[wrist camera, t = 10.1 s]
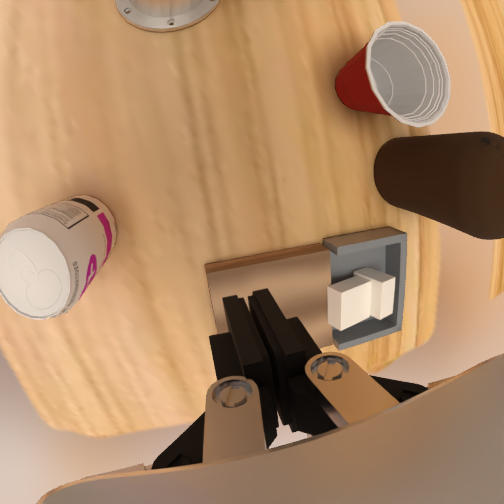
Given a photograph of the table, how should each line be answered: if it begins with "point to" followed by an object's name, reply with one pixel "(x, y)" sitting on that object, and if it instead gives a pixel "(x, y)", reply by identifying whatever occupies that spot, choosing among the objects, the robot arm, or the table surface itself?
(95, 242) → the supplement can
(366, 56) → the plastic cup
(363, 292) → the tile
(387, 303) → the tile
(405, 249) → the box
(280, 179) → the table surface
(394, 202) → the olive oil
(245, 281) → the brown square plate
